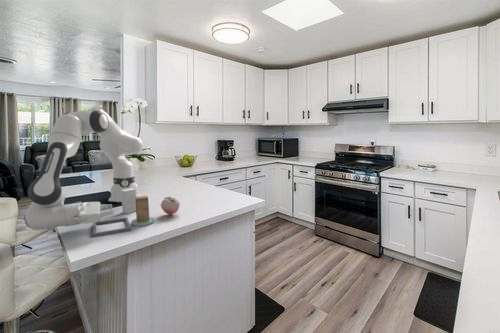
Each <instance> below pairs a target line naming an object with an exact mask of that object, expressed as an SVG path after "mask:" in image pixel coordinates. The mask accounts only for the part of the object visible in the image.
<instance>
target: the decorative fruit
mask: <svg viewBox="0 0 500 333" xmlns="http://www.w3.org/2000/svg"><path fill="white" fill-rule="evenodd" d="M180 204H181V203H180V201H179V200H178V199H177V198H175V197H171V196H167V197H164V199H163V200H162V201H161V203H160V208H161V209H162V211H163V212H164V213H165V214H167V215H169V216H173V215H174V214H176V213H177V212H178V211H179V209H180V207H181V206H180Z"/></svg>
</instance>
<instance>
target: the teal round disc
mask: <svg viewBox="0 0 500 333" xmlns="http://www.w3.org/2000/svg"><path fill="white" fill-rule="evenodd" d="M149 220H150V221H147V222H141V223H138V222H137V218H134V219H132V220H131V221H130V222H131V226H133V227H146V226H149V225H152V224H154V223H155V221H156V220H155V217H153V216H149Z"/></svg>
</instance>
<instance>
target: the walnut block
mask: <svg viewBox="0 0 500 333" xmlns="http://www.w3.org/2000/svg"><path fill="white" fill-rule="evenodd" d="M135 202H136V211H135V214H136V218H135V219H137V222H138V223H141V222H147V221H150V220H149V217H150V207H149V205H150V204H149V197H148V195H141V196H139V197H135Z"/></svg>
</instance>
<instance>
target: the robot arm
mask: <svg viewBox="0 0 500 333" xmlns="http://www.w3.org/2000/svg"><path fill="white" fill-rule="evenodd" d="M95 133H96V134H97V135H98V136H99V137H100V138H101V139H100V143H99V148H100V151H101V152H102V153H103V154H105V155H106V156H107V158H108V159H109V160H110V163H111V165H112V170H113V172H112V173H113V178H112V181H113V185H112V186H111V188H110V193H111V194H110V197H109V198H108V199H107V200H108V202H114V203H115V202H116V203H122V199H121V190H125V189H130V188H133V189H135V190H136V197H139V196H142V195H141V194H140V193H139V187H138V186H139V185H138V184H137V183H136V182H135V181H136V179H135V178H136V177H135V175H134V165H133V163H132V162H131V161H130V160H129V159H127V158H126V157H125V156H126V155H128V156H129V155H136V154H137V155H138V154H140V153H142V151H143V149H144V142H143V141H142V139H141V138H140V137H138V136H134V135H132V134H130V133H129V132H127V131H126V130H124V129H122V128H121V127H120V126H119V125H118V124H117V123H116V121H115V120H114V119H113V117H111V116H110V115H109V114H108V113H107V112H106V111H104V109H102V108H100V107H91V108H89V109H88V110H79V111H67V112H65V113H63V114H61V115H59V116H58V118H57V119H56V121H55V123H54V124H53V127H52V129H51V132H50V135H49V140H48V144H47V151H46V154H45V157H44V160H43V163H42V164H41V165H42V166H41V169H40V171H39V173H38V175H37V177H36V178H35V179H34V180H33V181H32V182H31V183H30V185H29V186H28V189H27V196H28V198H29V200H30V201H32V202H31V203H30V205H29V207H28V208H27V209H26V210H25V211H24V213H23V220H24V222H25V224H26V226H27V227H28V228H29V229H31V230H34V231H36V230H37V231H40V230H41V231H42V230H51V229H55V228H59V227H69V226H70V227H71V226H77V225H81V224H94V222H99V221H102V219H101V218H105V217H108V216H113V215H114V210H113V204H112V203H111V204H101V202H100V201H86V202H85V201H84V202H82V201H76V202H74V203H69V204H65V199H66V191H64V189H63V187H62V185H61V183H60V177H61V174H62V170H63V167H64V164H65V162H66V160H67V159H68V158H71V157H73V156H76V154H77V152H78V150H79V147H80V144H81V140H82V135H88V134H95ZM103 210H105V211H103Z"/></svg>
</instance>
